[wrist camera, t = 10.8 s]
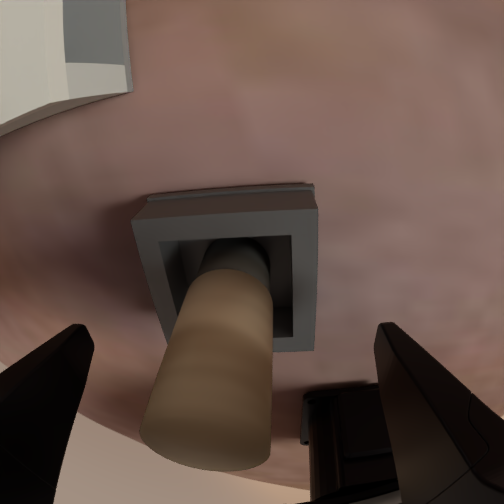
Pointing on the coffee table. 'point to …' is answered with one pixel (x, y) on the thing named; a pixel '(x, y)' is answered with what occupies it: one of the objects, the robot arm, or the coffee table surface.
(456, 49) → the coffee table surface
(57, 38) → the breaker box
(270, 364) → the beige rounded rod
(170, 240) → the holder
